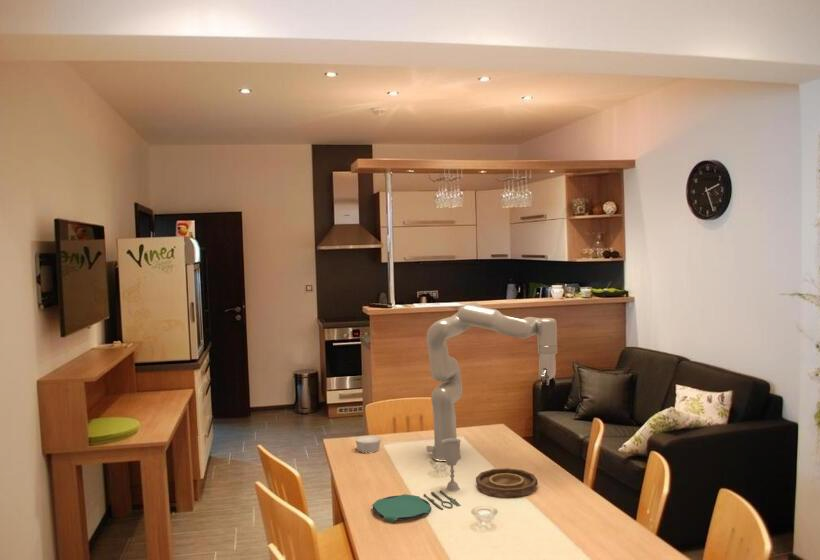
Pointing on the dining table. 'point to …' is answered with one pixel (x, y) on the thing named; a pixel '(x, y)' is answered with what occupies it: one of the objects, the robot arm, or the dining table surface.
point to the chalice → (451, 459)
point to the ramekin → (368, 443)
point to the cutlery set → (407, 506)
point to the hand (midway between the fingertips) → (548, 392)
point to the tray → (506, 483)
